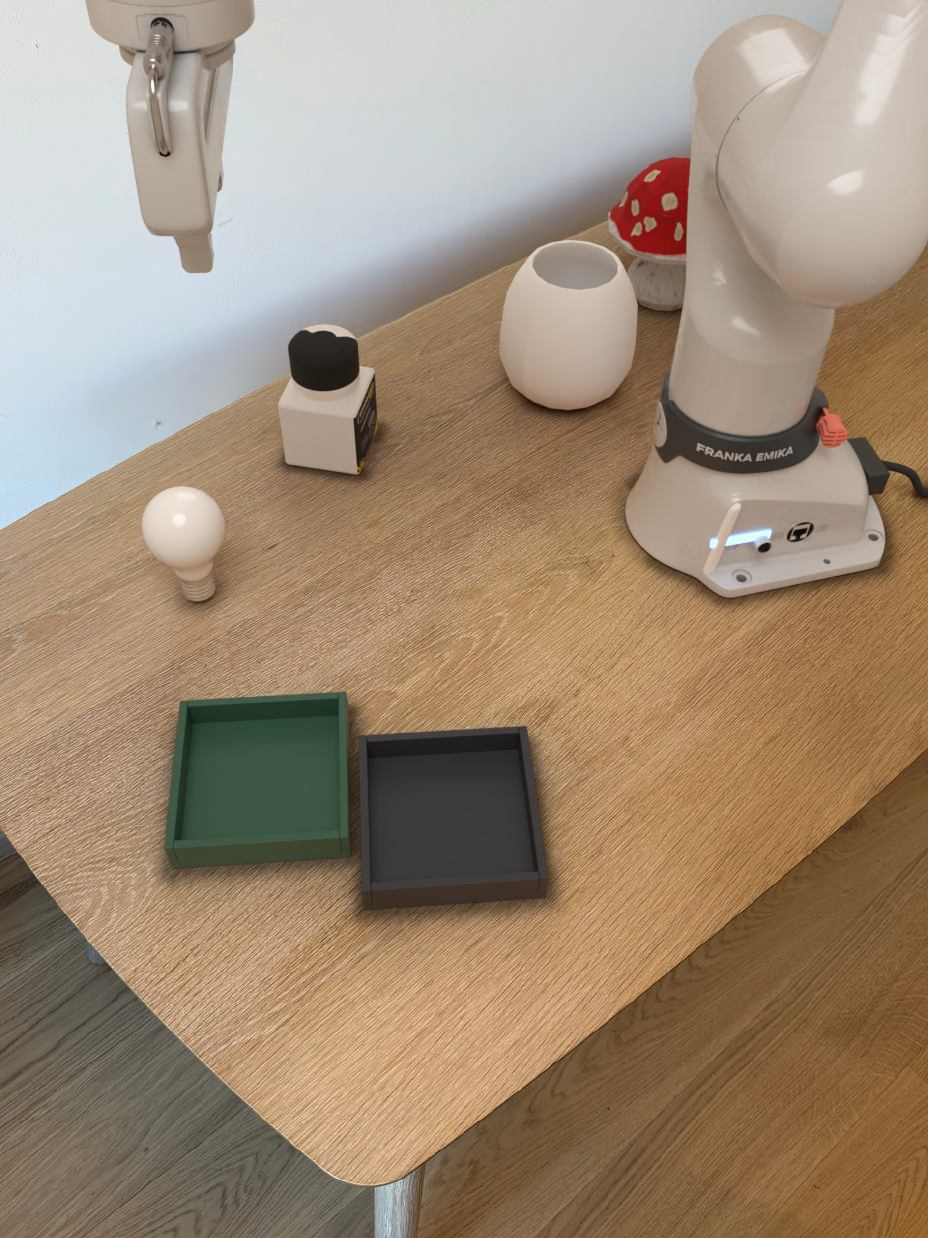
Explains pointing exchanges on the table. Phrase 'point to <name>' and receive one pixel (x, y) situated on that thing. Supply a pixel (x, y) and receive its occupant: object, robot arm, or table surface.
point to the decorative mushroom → (655, 232)
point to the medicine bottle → (327, 402)
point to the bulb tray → (260, 780)
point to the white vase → (569, 325)
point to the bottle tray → (449, 818)
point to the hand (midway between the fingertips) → (205, 224)
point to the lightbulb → (185, 536)
